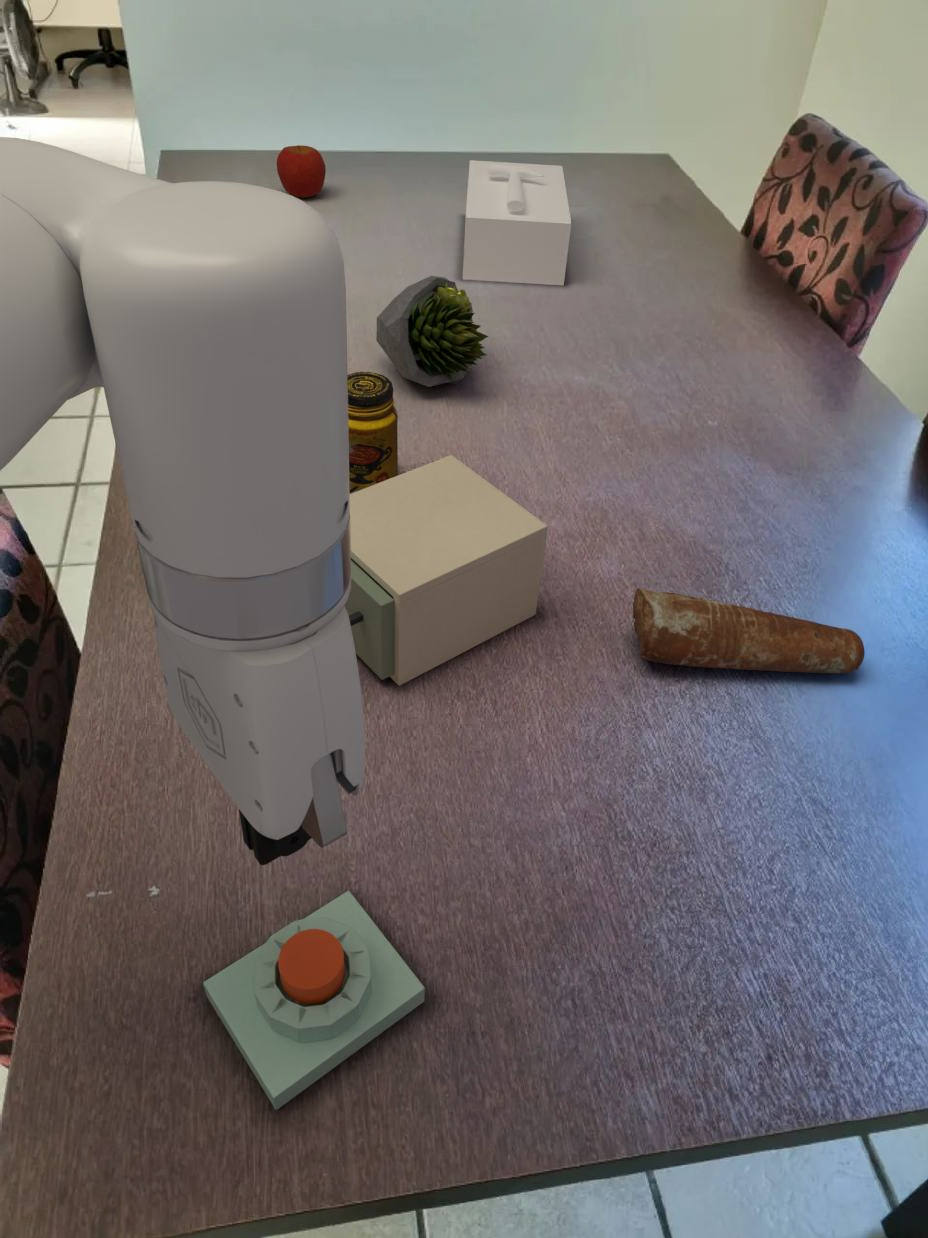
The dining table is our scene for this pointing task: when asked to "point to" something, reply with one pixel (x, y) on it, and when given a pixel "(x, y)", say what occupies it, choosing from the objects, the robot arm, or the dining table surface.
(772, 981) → the dining table surface
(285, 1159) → the dining table surface
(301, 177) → the apple
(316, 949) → the button
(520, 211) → the white embossed block
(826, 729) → the dining table surface
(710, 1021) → the dining table surface
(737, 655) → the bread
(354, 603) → the drawer
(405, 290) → the potted plant
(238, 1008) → the block
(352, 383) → the condiment
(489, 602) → the cabinet
